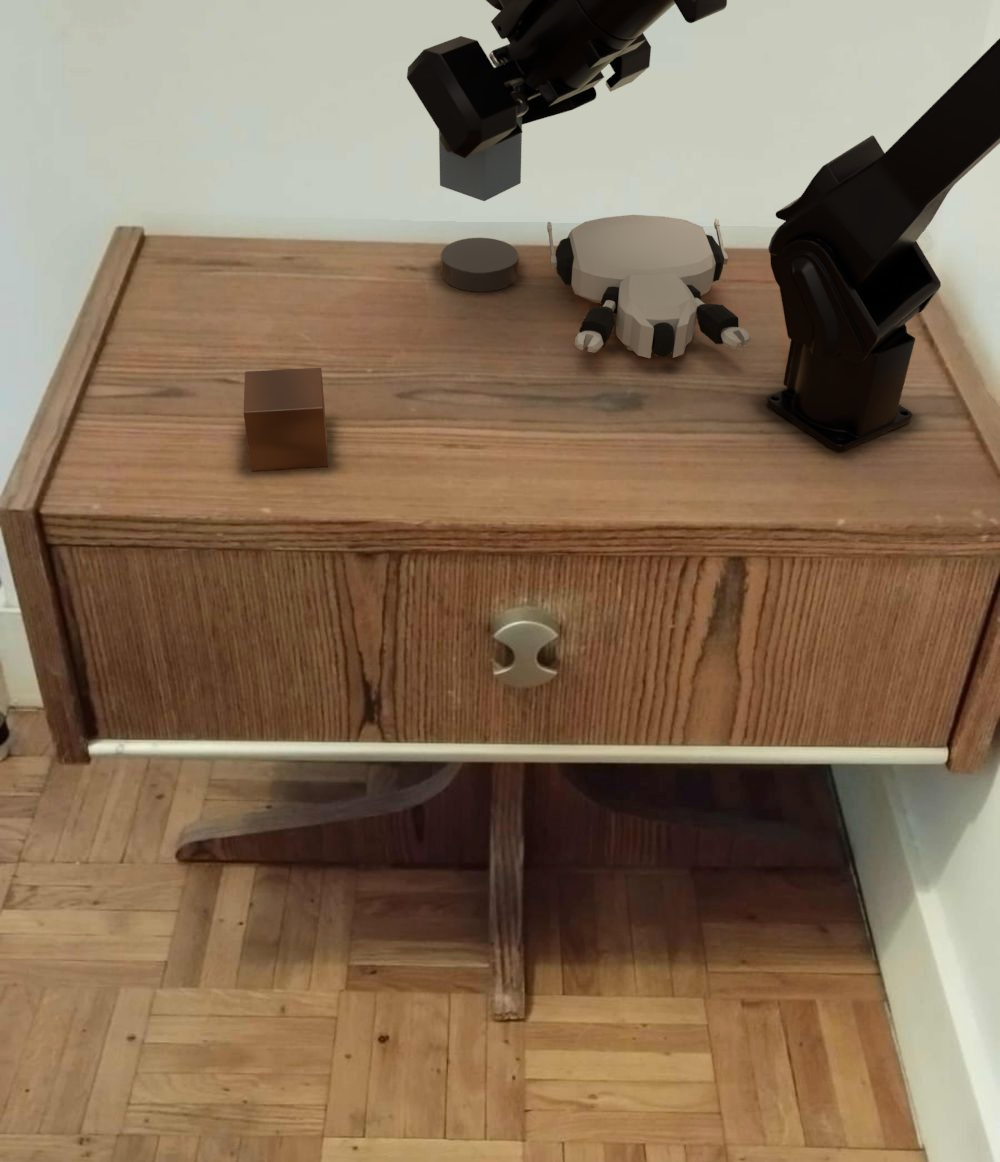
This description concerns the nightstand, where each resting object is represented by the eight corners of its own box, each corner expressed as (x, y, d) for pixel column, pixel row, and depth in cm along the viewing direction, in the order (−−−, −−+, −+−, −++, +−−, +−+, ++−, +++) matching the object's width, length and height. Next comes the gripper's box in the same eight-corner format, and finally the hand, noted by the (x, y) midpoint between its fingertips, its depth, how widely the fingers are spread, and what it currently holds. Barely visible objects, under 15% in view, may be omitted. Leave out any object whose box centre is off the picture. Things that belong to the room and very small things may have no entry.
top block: (521, 183, 89) (523, 80, 85) (484, 201, 87) (484, 97, 82) (476, 168, 91) (476, 67, 86) (439, 186, 89) (437, 82, 84)
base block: (326, 424, 78) (321, 367, 75) (328, 466, 74) (323, 407, 72) (252, 429, 77) (244, 371, 75) (251, 471, 74) (243, 412, 71)
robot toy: (753, 382, 84) (709, 262, 94) (765, 323, 81) (718, 205, 91) (566, 388, 83) (543, 266, 94) (570, 328, 80) (546, 208, 90)
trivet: (533, 279, 93) (534, 260, 92) (468, 299, 90) (468, 279, 89) (490, 249, 96) (490, 231, 95) (426, 268, 94) (426, 249, 93)
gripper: (627, -153, 80) (488, 0, 92) (427, -100, 69) (299, 66, 81) (720, 6, 81) (571, 136, 93) (539, 84, 70) (397, 219, 82)
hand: (465, 135), depth 88 cm, fingers closed on top block, 4 cm apart
